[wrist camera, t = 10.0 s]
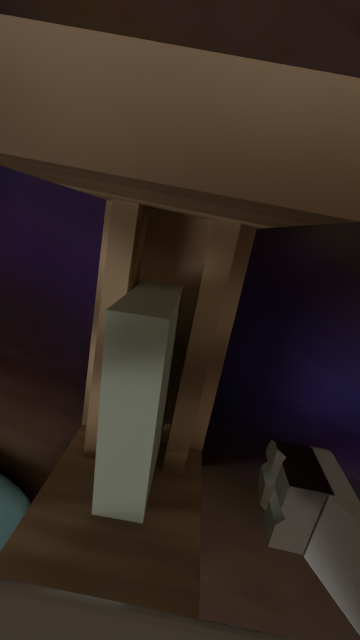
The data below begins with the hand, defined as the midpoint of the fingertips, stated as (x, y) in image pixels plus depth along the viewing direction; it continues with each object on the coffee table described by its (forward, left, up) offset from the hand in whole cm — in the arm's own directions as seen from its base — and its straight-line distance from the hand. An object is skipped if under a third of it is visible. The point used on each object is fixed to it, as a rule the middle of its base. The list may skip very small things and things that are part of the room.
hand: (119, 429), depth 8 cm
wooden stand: (+1, 0, -11) cm, 11 cm away
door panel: (+2, 0, -10) cm, 10 cm away
